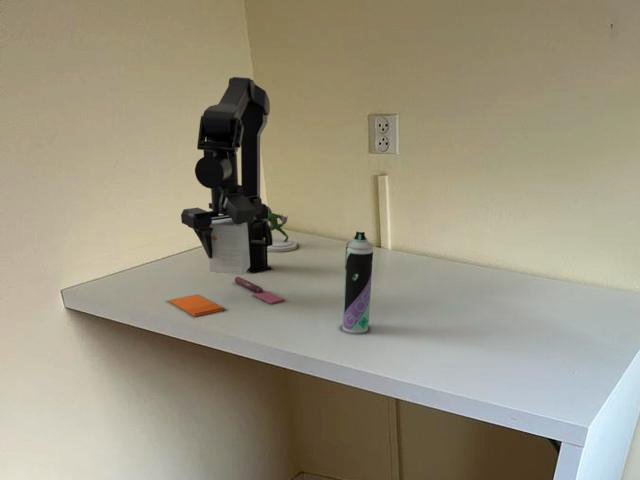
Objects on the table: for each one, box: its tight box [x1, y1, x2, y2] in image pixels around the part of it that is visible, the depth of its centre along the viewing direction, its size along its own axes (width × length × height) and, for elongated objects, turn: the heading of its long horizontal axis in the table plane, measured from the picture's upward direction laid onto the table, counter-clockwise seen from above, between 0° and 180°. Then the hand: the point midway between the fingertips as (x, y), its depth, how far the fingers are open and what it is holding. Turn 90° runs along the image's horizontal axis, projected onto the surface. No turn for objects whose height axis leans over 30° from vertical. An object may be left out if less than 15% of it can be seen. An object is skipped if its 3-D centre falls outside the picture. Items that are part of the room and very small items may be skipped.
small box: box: [207, 218, 250, 275], centre depth 148 cm, size 8×6×10 cm
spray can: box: [342, 231, 374, 335], centre depth 138 cm, size 6×6×20 cm
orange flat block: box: [169, 294, 224, 318], centre depth 149 cm, size 7×11×1 cm, turn 42°
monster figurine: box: [264, 205, 298, 253], centre depth 190 cm, size 12×12×10 cm
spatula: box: [234, 276, 284, 305], centre depth 159 cm, size 17×4×2 cm, turn 42°
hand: (228, 254), depth 149 cm, fingers closed on small box, 9 cm apart
